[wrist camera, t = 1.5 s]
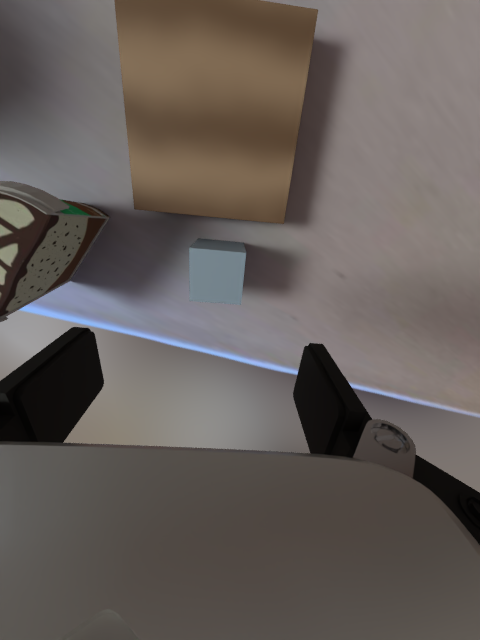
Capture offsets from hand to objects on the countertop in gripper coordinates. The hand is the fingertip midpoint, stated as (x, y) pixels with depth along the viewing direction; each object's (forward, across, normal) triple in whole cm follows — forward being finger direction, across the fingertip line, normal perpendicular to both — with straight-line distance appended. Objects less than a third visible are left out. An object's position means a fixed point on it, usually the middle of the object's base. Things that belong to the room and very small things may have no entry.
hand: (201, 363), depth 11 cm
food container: (+19, +17, -2) cm, 26 cm away
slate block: (+19, 0, 0) cm, 19 cm away
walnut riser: (+18, +1, -12) cm, 22 cm away
